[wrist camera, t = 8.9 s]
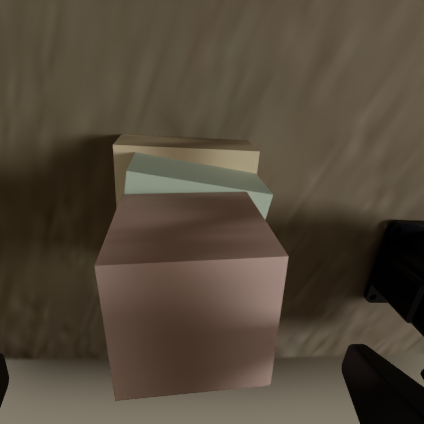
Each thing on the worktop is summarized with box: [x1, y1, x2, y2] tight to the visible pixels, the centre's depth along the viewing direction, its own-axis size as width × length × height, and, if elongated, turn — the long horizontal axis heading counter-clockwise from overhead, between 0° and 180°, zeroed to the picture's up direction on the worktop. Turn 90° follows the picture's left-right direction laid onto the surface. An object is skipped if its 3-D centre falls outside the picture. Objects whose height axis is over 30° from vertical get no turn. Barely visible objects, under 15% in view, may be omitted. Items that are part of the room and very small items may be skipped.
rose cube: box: [95, 192, 289, 401], centre depth 11 cm, size 5×5×5 cm
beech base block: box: [113, 134, 260, 208], centre depth 18 cm, size 7×7×3 cm
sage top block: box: [124, 152, 273, 220], centre depth 15 cm, size 6×6×3 cm
